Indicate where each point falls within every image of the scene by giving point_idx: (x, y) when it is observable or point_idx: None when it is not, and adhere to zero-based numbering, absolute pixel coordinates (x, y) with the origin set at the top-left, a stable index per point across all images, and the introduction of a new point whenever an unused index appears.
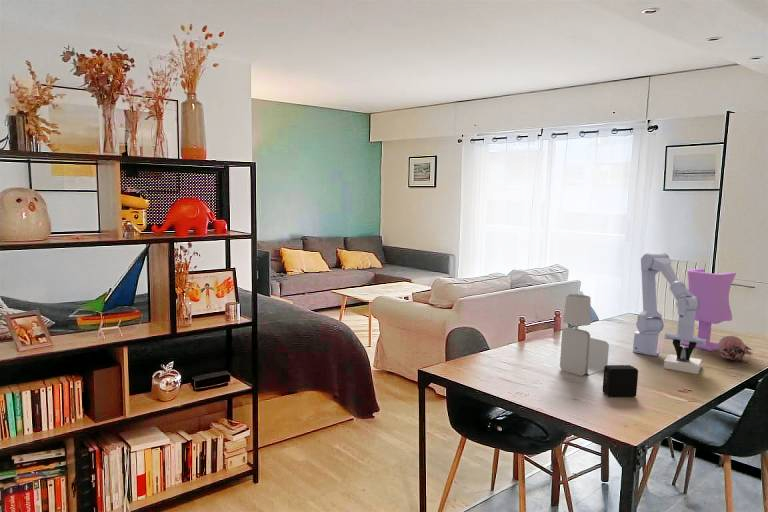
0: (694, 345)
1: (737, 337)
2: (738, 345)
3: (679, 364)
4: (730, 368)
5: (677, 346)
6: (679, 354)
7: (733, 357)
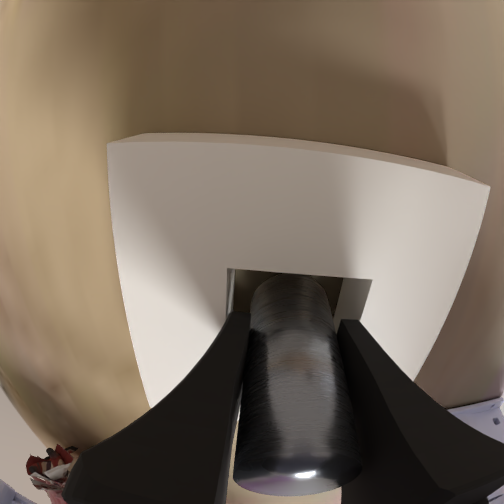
0: (71, 486)
1: None
2: (54, 497)
3: (337, 151)
4: (54, 383)
5: (430, 438)
6: (343, 371)
7: (59, 448)
